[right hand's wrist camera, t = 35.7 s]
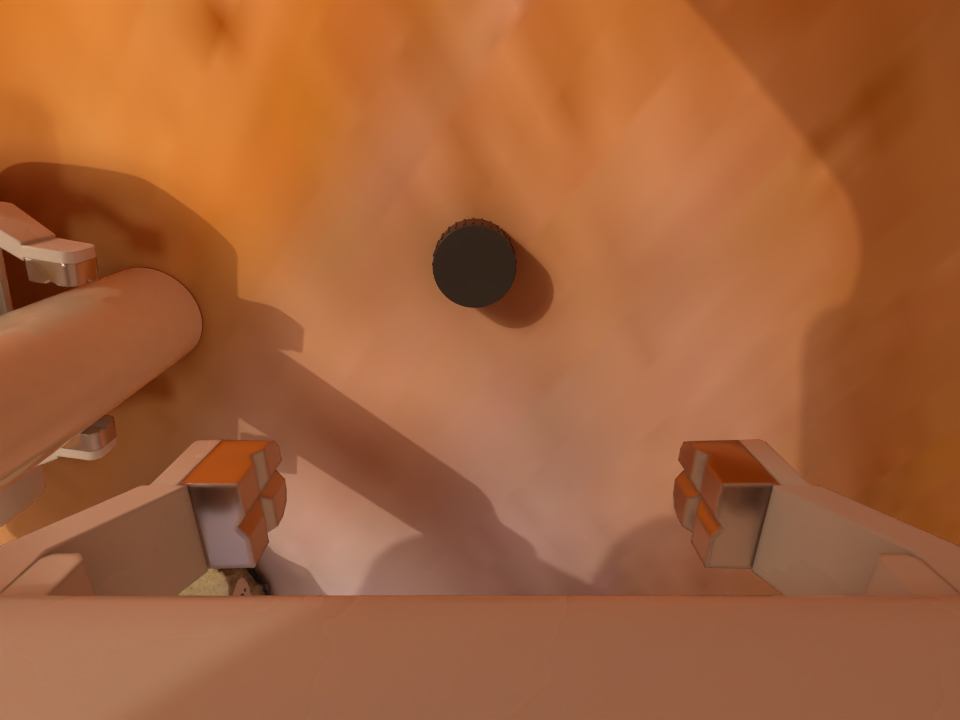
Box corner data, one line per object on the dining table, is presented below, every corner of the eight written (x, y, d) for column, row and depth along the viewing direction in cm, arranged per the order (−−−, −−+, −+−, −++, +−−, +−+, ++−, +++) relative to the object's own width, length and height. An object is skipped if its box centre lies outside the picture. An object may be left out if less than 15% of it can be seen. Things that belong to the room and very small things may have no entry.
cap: (427, 286, 27) (423, 298, 25) (444, 208, 26) (441, 214, 24) (502, 304, 28) (504, 317, 26) (523, 228, 26) (527, 236, 24)
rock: (161, 475, 33) (115, 595, 35) (101, 533, 27) (50, 674, 29) (318, 530, 35) (267, 640, 37) (296, 595, 29) (236, 722, 31)
